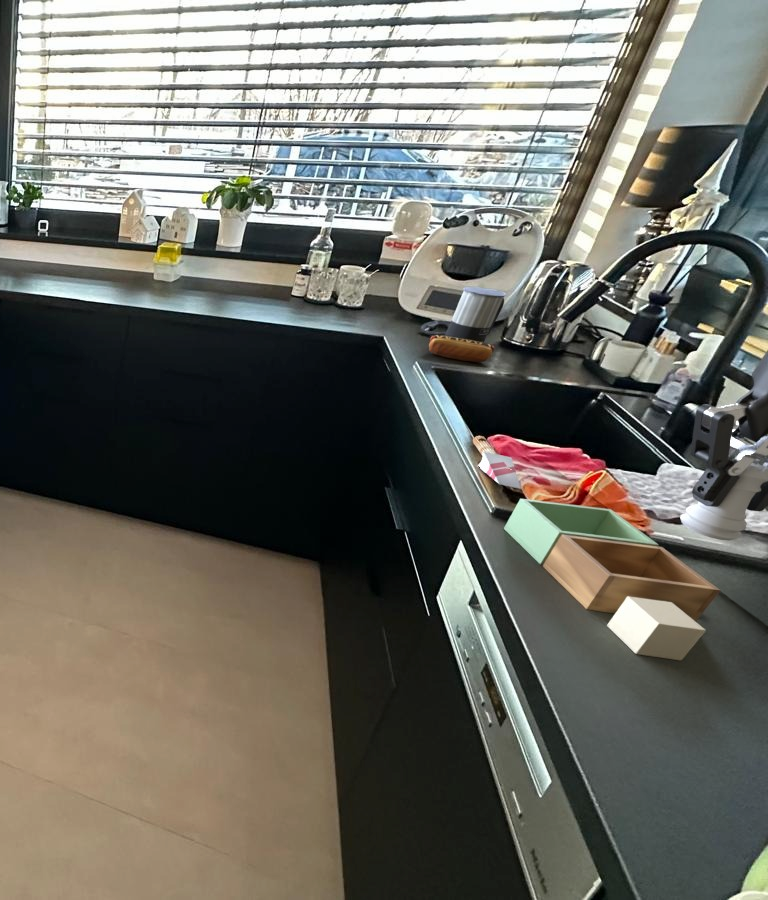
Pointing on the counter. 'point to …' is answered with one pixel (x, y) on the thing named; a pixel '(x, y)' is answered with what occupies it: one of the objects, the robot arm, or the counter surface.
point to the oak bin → (626, 575)
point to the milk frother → (471, 315)
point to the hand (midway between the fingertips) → (726, 504)
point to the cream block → (655, 628)
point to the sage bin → (566, 526)
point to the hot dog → (460, 348)
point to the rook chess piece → (727, 507)
